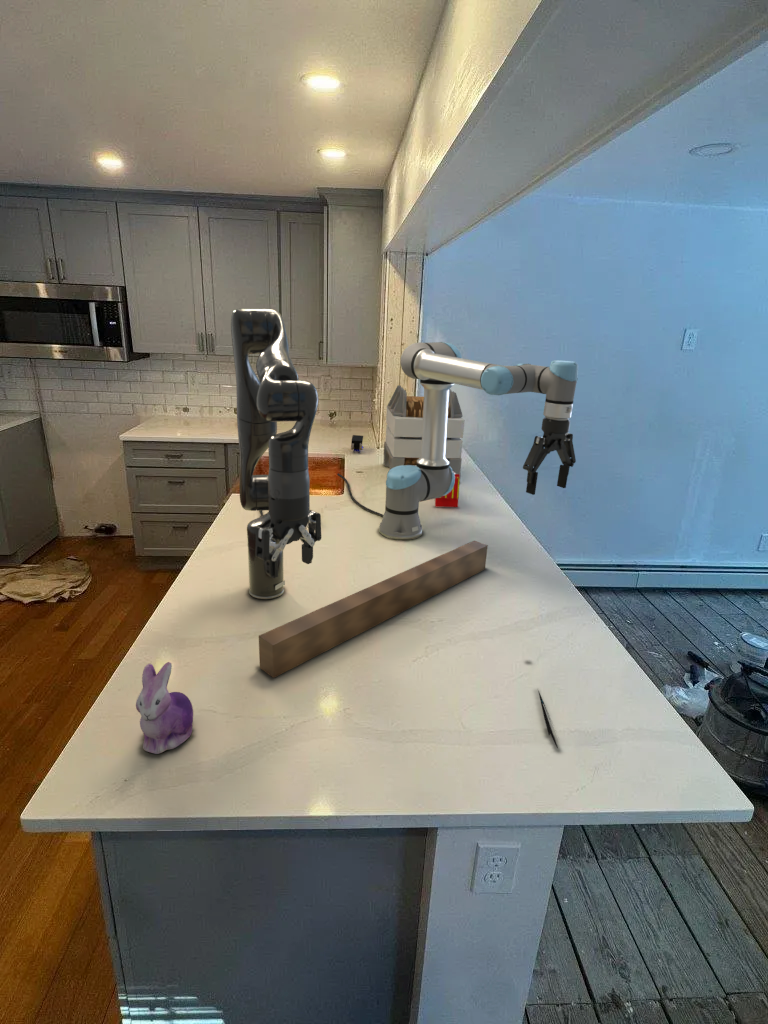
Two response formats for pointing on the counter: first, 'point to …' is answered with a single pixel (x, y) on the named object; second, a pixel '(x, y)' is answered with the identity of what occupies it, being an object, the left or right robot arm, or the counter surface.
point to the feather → (547, 719)
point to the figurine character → (356, 443)
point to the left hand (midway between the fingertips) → (290, 569)
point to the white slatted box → (418, 430)
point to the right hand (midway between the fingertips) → (546, 490)
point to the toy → (450, 495)
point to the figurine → (162, 711)
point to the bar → (365, 609)
